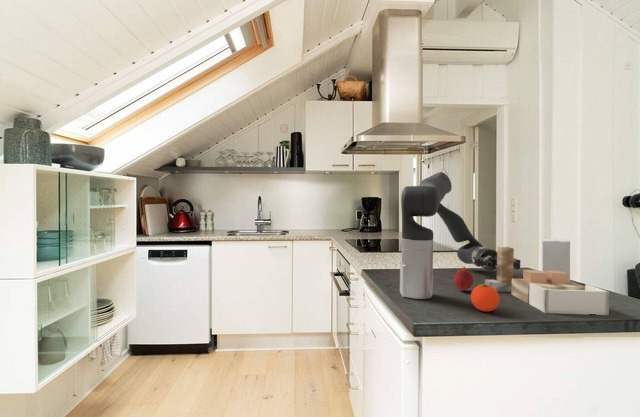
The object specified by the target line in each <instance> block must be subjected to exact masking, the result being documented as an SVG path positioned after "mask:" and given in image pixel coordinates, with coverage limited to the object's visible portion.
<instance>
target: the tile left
mask: <svg viewBox="0 0 640 417" xmlns="http://www.w3.org/2000/svg"><path fill="white" fill-rule="evenodd" d="M522 272H523V273H522V279H523V280H525V281H528V282H530V283H547V273H545V272H543V270H539V269H523V270H522Z"/></svg>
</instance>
